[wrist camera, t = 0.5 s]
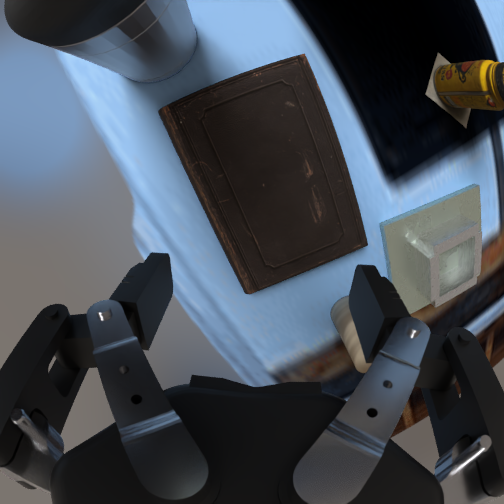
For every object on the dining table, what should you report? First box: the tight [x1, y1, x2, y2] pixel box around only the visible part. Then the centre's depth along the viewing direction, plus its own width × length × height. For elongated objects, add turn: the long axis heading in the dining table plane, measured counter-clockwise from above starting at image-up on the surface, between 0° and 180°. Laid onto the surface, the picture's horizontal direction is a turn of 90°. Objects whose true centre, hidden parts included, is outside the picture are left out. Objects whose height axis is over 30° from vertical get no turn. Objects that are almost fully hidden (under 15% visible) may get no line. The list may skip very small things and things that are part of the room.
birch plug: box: [331, 296, 372, 373], centre depth 35 cm, size 5×5×10 cm
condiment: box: [426, 53, 504, 128], centre depth 22 cm, size 7×8×12 cm
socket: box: [379, 184, 482, 314], centre depth 35 cm, size 16×18×5 cm
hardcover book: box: [158, 54, 368, 294], centre depth 31 cm, size 16×23×2 cm
